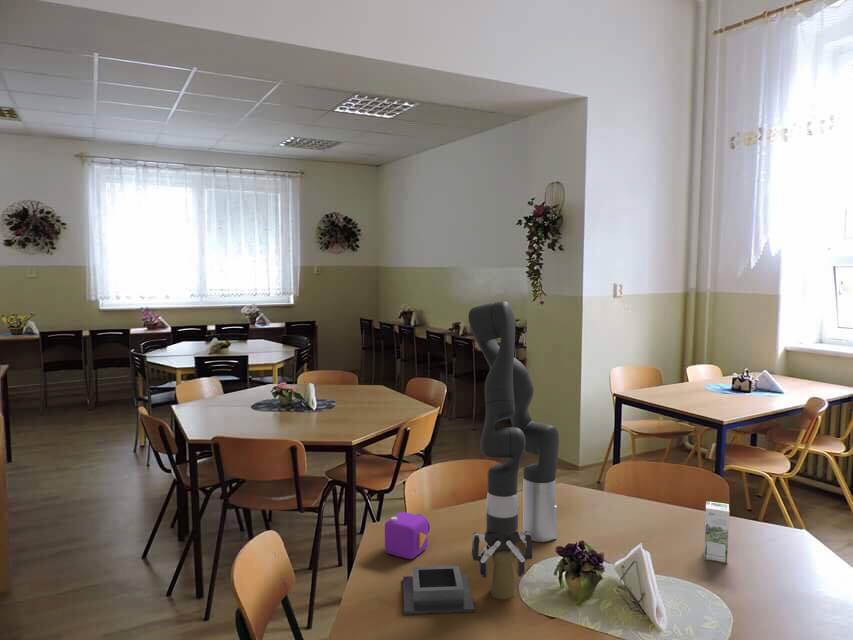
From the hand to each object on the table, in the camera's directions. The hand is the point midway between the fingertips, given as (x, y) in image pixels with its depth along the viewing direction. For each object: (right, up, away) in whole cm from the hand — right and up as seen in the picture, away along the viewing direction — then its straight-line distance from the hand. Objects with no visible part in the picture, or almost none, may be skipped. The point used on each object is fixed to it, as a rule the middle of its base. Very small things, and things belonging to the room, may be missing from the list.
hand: (501, 575), depth 151 cm
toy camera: (-23, -3, +24) cm, 33 cm away
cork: (0, -5, 0) cm, 5 cm away
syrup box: (+60, -3, +18) cm, 62 cm away
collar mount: (-16, -5, 0) cm, 16 cm away
